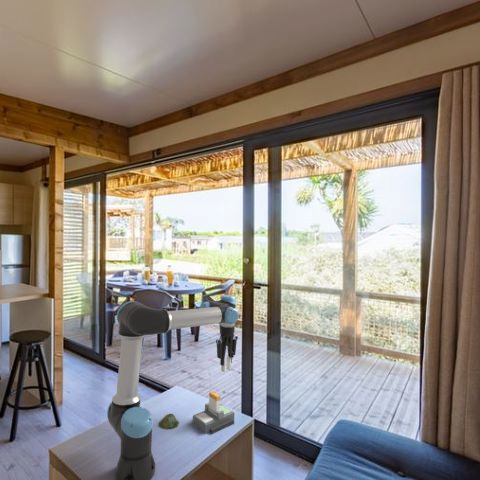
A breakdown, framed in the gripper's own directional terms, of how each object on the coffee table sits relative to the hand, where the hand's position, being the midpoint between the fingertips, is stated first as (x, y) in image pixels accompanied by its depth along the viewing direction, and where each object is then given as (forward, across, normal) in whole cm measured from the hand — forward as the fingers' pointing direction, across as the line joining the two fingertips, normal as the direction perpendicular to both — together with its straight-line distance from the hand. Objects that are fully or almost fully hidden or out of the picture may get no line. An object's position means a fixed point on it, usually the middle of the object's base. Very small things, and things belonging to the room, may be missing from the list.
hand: (225, 370), depth 173 cm
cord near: (+25, -7, -7) cm, 26 cm away
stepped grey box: (+25, -7, 0) cm, 26 cm away
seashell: (+25, -25, +13) cm, 38 cm away
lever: (+20, -7, 0) cm, 21 cm away
